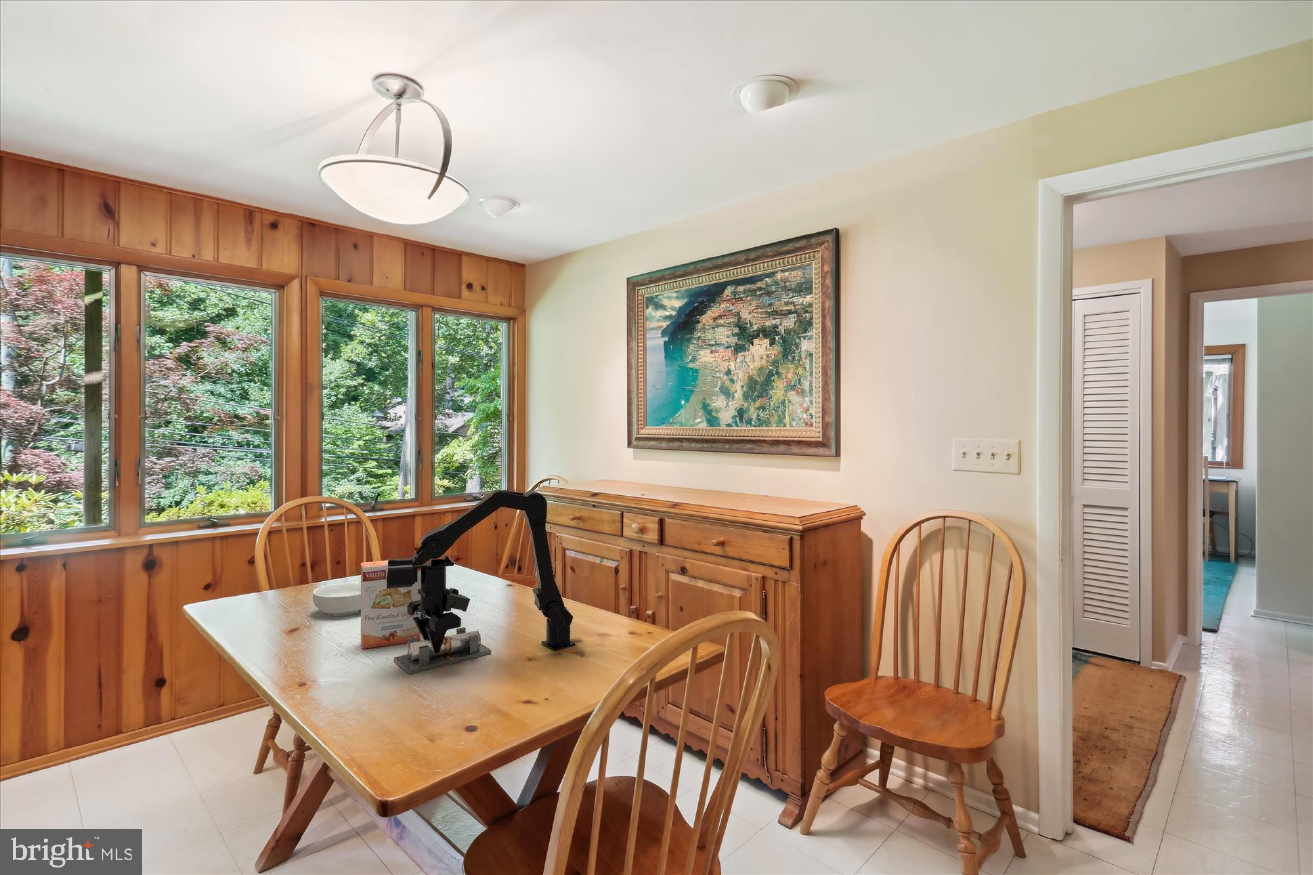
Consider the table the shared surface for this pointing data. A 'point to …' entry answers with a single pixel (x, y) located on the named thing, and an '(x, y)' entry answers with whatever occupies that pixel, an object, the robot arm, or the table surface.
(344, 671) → the table surface
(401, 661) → the stand
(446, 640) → the tube
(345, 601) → the cereal bowl
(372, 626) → the cracker box
